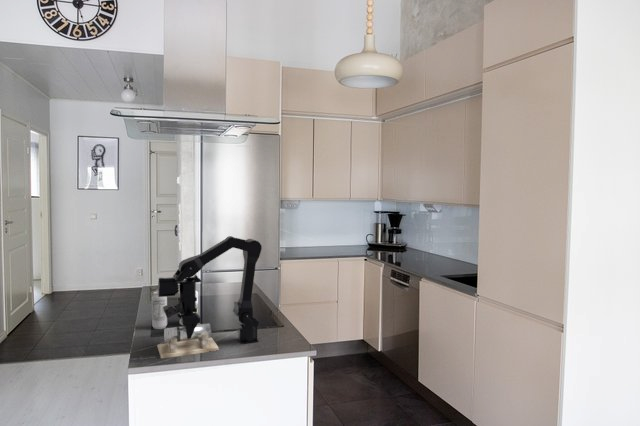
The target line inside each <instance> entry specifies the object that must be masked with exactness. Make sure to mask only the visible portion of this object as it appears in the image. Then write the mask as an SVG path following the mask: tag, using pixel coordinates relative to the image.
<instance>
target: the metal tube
mask: <svg viewBox="0 0 640 426" xmlns="http://www.w3.org/2000/svg"><path fill="white" fill-rule="evenodd" d="M163 330H164V331H163V332H164V333H163V336H164V337H163V338H164V344H165V343H168V342H170V338H174V337H176V338H177V342H181V341H188V340H196V339H198V338H202V334H206V333H208V338H212V337H211V335H212V327H211V323H209V322H208V323H198V324H197V326H196V328H195V330H194V332H193V334H192V337H191V338H190V339H188V338H187V334H186V328H185V326H183V325H182V326H175V327H165V328H163Z"/></svg>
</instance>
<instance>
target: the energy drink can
mask: <svg viewBox="0 0 640 426" xmlns="http://www.w3.org/2000/svg"><path fill="white" fill-rule="evenodd" d="M166 305H168V296H167V297H158V290H157V291H153V293H152V296H151V327H153V328H152V329H154V330H162V329H163V330H164V329H165V328H167V325H168V318H167V317H166V314H165V312H164V310H163V307H164V306H166Z"/></svg>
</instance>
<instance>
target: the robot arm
mask: <svg viewBox="0 0 640 426" xmlns="http://www.w3.org/2000/svg"><path fill="white" fill-rule="evenodd" d="M262 247H263V246H262V244H261V242H259V241H258V240H255V239H254V238H247V239H243V238H237V237H234V236H230V235H228V236H227V237H226V238H225V239H223V240H221V241H219V242H218V243H216V244H215V245H212V246H211V247H210V248H208V249H207V250H205V251H202V252H201V253H200V254H198V255H197V254H196V255H194V256H190V257H187V258H185V259H183V260H181V261H180V262H179V265H178V269H177V270H176V271H175V273H174V274H173V276H172V277H159V278H158V282H157V291H158V297H167V298H168V297H175V296H176V295H177V294H178V293H179V296H178V297H177V300H176V301H173V302H171V303H169V304H167V305H166V306H164V307H163V310H164V312H165V314H166V317H167V319H168V318H171V317H172V316H174V315H177V317H178V319H179V318H180V319H181V323H182V324H183V325H182V326H185V328H186V334H187V338H188V339H190V338H191V337H192V334H193V332H194V330H195V328H196V326H197V325H199V324H202V323H201V322H202V321H201V320H202V319H201V316H200V314H199V313H198V314H197V313H193V312H197V309H196V301H197V298H196V291H197V287H196V286H197V284H196V283H202V280H201V278H199V276H198V275H197V273H199V272H200V271H201V270H202V269H203V267H205V266H206V264H208V263H211V261H213V260H215V259H216V258H218V257H220V256H221V255H223V254H225V253H226V252H228V251H229V250H232V249H237V250H241V251H242V255H243V263H244V265H243V271H242V278H241V287H240V294H239V299H238V301H233V306H234V307H233V310H232V312H233V314H234V316H235V319H237V321H239V323H240V324H239V328H238V330H237V332H238V333H237V334H238V338H237V339H238V340H239V342H240V343H241V344H251V343H257V342H259V341H260V340H259V339H258V327H259V324H260V321H259V320H257V319H256V318H255V317H254V309H253V308H254V307H253V303H252V297H253V288H254V280H255V272H256V265H257V262H258V260H259V258H260V256H261V253H262ZM179 313H180V314H179ZM190 340H191V339H190Z"/></svg>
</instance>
